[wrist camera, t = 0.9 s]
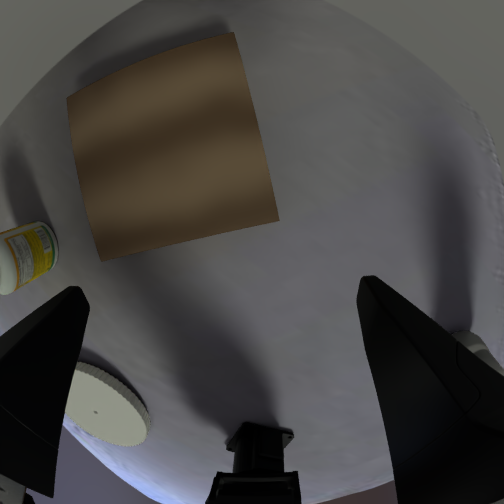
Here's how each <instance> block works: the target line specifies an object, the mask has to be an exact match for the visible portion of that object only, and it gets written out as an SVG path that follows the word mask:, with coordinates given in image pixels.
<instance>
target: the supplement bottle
mask: <svg viewBox="0 0 504 504" xmlns="http://www.w3.org/2000/svg"><path fill="white" fill-rule="evenodd" d="M57 258H58V244H57V240H56V237H55V235H54V233H53V231H52V230H51V229H50V227H49V226H48V225H46V224H45V223H43V222H40V221H36V222H32V223H29V224H25V225H22V226H19V227H16V228H13V229H10V230H7V231H4V232H1V233H0V294H2V295H7V294H10V293H12V292H14V291H15V290H17V289H19V288H20V287H22V286H24V285H25V284H27V283H29V282H30V281H32V280H34V279H36V278H37V277H39V276H41V275H43V274H44V273H46V272H47V271H49V270H51V269H52V268H53V267H54V266H55V264H56V262H57Z"/></svg>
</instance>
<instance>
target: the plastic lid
mask: <svg viewBox="0 0 504 504" xmlns="http://www.w3.org/2000/svg"><path fill="white" fill-rule="evenodd" d="M143 406H144V405H143V404H141V401H140V400H138V397H136V396H135V394H134V393H132V392H131V390H130V389H128V388H127V386H124V385H123V383H122V382H119V381H118V379H115V378H114V377H113V376H112V375H111V376H110V375H109V373H105V372H104V370H100V369H99V368H95V366H91V365H90V364H88V365H87V364H86V363H82V362H78V361H77V365H76V368H75V372H74V376H73V379H72V383H71V387H70V391H69V396H68V400H67V405H66V409H65V413H66V414H67V416H69V417H70V419H72V420H73V422H75V423H76V424H77V425H79V426H80V428H82V429H83V430H85V431H87V432H88V433H90V434H91V435H93V436H94V437H97V438H98V439H101V440H103V441H106V442H109V443H111V444H114V445H115V444H116V445H121V446H135V445H138V444H140V443H142V442H144V440H145V439H146V437H147V435H148V432H149V430H150V425H151V424H150V422H151V421H150V418H149V415H148V412H147V411H146V408H145V407H143Z"/></svg>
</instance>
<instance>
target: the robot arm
mask: <svg viewBox="0 0 504 504" xmlns="http://www.w3.org/2000/svg"><path fill="white" fill-rule="evenodd" d="M357 309H358V314H359V319H360V324H361V330H362V336H363V342H364V347H365V351H366V355H367V359H368V362H369V366H370V369H371V373H372V377H373V381H374V384H375V388H376V392H377V396H378V400H379V405H380V409H381V413H382V417H383V422H384V426H385V431H386V436H387V440H388V445H389V451H390V456H391V461H392V467H393V469H394V470H393V474H394V480H395V486H396V492H397V500H398V504H504V376H503V375H502V374H500V373H499V372H497V371H496V370H495V369H493V368H492V367H491V366H489V365H488V364H487V363H485V362H484V361H483V360H481V359H480V358H479V357H478V356H476V355H475V354H474V353H473V352H471V351H470V350H469V349H468V348H467V347H465V346H464V345H463V344H462V343H461V342H459V341H457V340H456V338H454V337H453V336H452V335H451V334H450V333H448V332H447V331H446V330H445V329H444V328H442V327H441V326H440V325H439V324H437V323H436V322H435V321H434V320H432V319H431V318H430V317H429V316H427V315H426V314H425V313H424V312H422V311H421V310H420V309H419V308H417V307H416V306H415V305H413V304H412V303H411V302H410V301H408V300H407V299H406V298H404V297H403V296H402V295H400V294H399V293H398V292H396V291H395V290H394V289H393V288H391V287H390V286H389V285H387V284H386V283H385V282H383V281H382V280H380V279H379V278H378V277H376V276H374V275H371V276H363V277H362V278H361V280H360V284H359V289H358V294H357ZM89 311H90V306H89V303H88V301H87V299H86V297H85V295H84V293H83V291H82V289H81V288H80V287H79V286H69V287H67V288H66V289H64V290H63V291H61V292H60V293H59V294H57V295H56V296H54V297H53V298H51V299H50V300H49V301H47V302H46V303H44V304H43V305H42V306H40V307H39V308H37V309H36V310H35V311H33V312H32V313H31V314H29V315H28V316H27V317H25V318H24V319H22V320H21V321H20V322H19V323H17V324H16V325H15V326H13V327H12V328H11V329H9V330H8V331H7V332H5V333H4V334H3V335H2V336H0V504H35V502H34V500H33V498H32V496H30V495H29V494H27V493H26V489H27V488H29V489H31V490H33V491H36V492H38V493H40V494H43V495H45V496H47V497H50V498H53V496H54V484H55V473H56V464H57V456H58V448H59V440H60V435H61V430H62V424H63V419H64V414H65V409H66V405H67V400H68V396H69V391H70V387H71V383H72V379H73V376H74V372H75V368H76V365H77V361H78V358H79V354H80V350H81V347H82V342H83V338H84V333H85V328H86V324H87V320H88V316H89ZM293 438H294V434H293V433H291V432H286V431H281V430H277V429H272V428H268V427H264V426H260V425H256V424H252V423H248V422H244V423H243V424H242V425H241V427H240V428H239V429H238V431H237V432H236V434H235V435H234V436H233V438H232V439H231V441H230V442H229V443H228V445H227V447H226V450H228V451H231V452H235V454H234V463H233V473H223V472H218V471H217V474H216V477H214V480H213V484H212V488H211V491H210V494H209V496H208V498H207V500H206V502H205V504H301V492H300V485H299V478H298V471H293V472H284V448H285V447H286V446H287V445H288V444H289V443H290V442H291V440H292V439H293Z"/></svg>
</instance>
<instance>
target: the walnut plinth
mask: <svg viewBox="0 0 504 504" xmlns="http://www.w3.org/2000/svg"><path fill="white" fill-rule="evenodd" d="M67 107H68V117H69V125H70V132H71V139H72V146H73V152H74V158H75V163H76V168H77V173H78V178H79V183H80V188H81V192H82V196H83V200H84V205H85V209H86V212H87V216H88V220H89V224H90V227H91V231H92V234H93V238H94V241H95V244H96V248H97V251H98V254H99V257H100V260H101V262H102V261H106V260H110V259H114V258H118V257H122V256H127V255H131V254H135V253H139V252H143V251H147V250H151V249H155V248H160V247H164V246H168V245H172V244H177V243H181V242H185V241H190V240H194V239H198V238H203V237H207V236H212V235H216V234H221V233H225V232H230V231H234V230H239V229H243V228H248V227H253V226H257V225H262V224H267V223H272V222H276V221H279V216H278V211H277V206H276V202H275V197H274V192H273V188H272V183H271V179H270V174H269V170H268V165H267V161H266V157H265V152H264V148H263V144H262V140H261V135H260V131H259V127H258V123H257V119H256V115H255V111H254V107H253V103H252V99H251V95H250V91H249V87H248V83H247V79H246V75H245V71H244V68H243V64H242V60H241V56H240V53H239V49H238V45H237V42H236V38H235V34H234V32H231V33H227V34H223V35H219V36H215V37H211V38H207V39H203V40H200V41H196V42H193V43H189V44H186V45H183V46H180V47H177V48H174V49H171V50H168V51H165V52H162V53H160V54H157V55H154V56H152V57H149V58H146V59H144V60H141V61H139V62H137V63H134V64H132V65H130V66H127V67H125V68H123V69H121V70H118V71H116V72H114V73H112V74H110V75H108V76H106V77H104V78H102V79H100V80H98V81H96V82H94V83H92V84H90V85H88V86H86V87H85V88H83V89H81V90H79V91H77V92H76V93H74V94H72V95H71V96H69V97H67Z"/></svg>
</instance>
